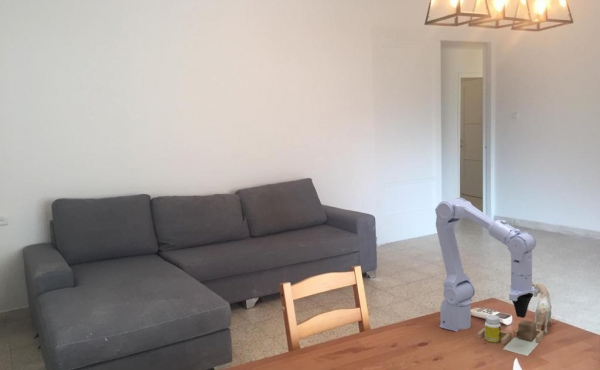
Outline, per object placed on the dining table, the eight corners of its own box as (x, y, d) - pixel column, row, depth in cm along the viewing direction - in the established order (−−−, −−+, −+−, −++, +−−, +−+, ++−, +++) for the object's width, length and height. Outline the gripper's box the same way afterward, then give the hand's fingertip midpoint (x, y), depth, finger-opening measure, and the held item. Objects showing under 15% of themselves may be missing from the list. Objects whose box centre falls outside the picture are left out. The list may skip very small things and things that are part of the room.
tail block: (518, 338, 156) (518, 323, 156) (522, 334, 159) (522, 319, 159) (531, 342, 154) (531, 326, 153) (535, 337, 156) (535, 322, 156)
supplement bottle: (502, 346, 154) (502, 320, 153) (486, 345, 155) (486, 319, 154) (499, 339, 159) (499, 314, 158) (483, 338, 160) (483, 313, 159)
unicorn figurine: (546, 316, 175) (547, 279, 173) (560, 340, 156) (561, 299, 154) (524, 315, 176) (525, 278, 175) (536, 339, 158) (536, 298, 156)
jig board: (473, 344, 156) (473, 335, 156) (492, 326, 168) (492, 318, 168) (527, 358, 145) (527, 349, 145) (544, 339, 157) (544, 330, 157)
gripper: (527, 282, 140) (526, 327, 142) (543, 269, 151) (542, 311, 153) (502, 277, 145) (501, 322, 147) (519, 265, 156) (519, 306, 158)
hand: (521, 316), depth 150 cm, fingers closed
